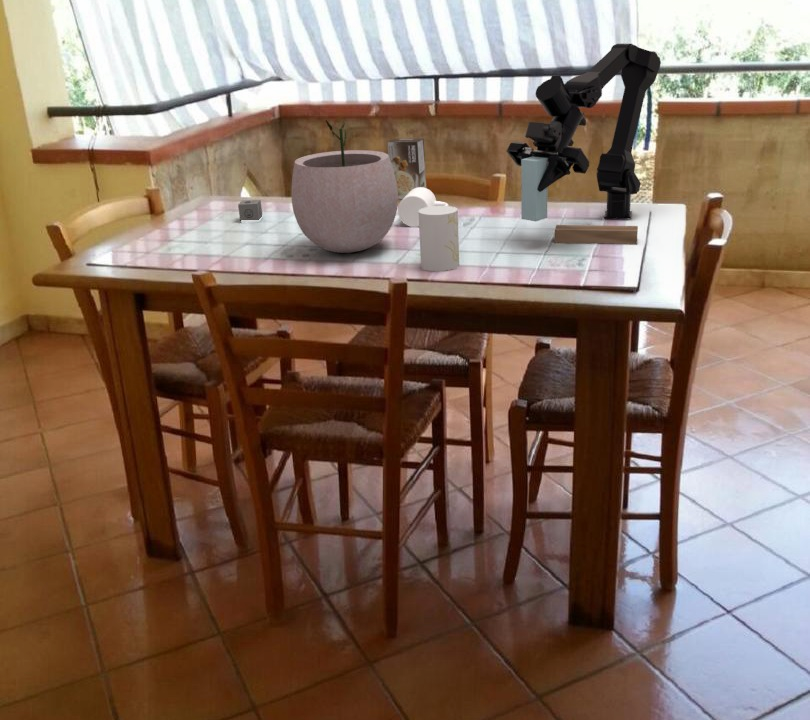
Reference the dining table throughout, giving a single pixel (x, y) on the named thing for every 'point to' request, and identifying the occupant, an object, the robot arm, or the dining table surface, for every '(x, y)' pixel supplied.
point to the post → (533, 189)
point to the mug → (416, 205)
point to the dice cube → (250, 209)
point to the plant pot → (344, 197)
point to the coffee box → (407, 164)
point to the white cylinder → (439, 238)
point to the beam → (596, 234)
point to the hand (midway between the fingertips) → (530, 189)
